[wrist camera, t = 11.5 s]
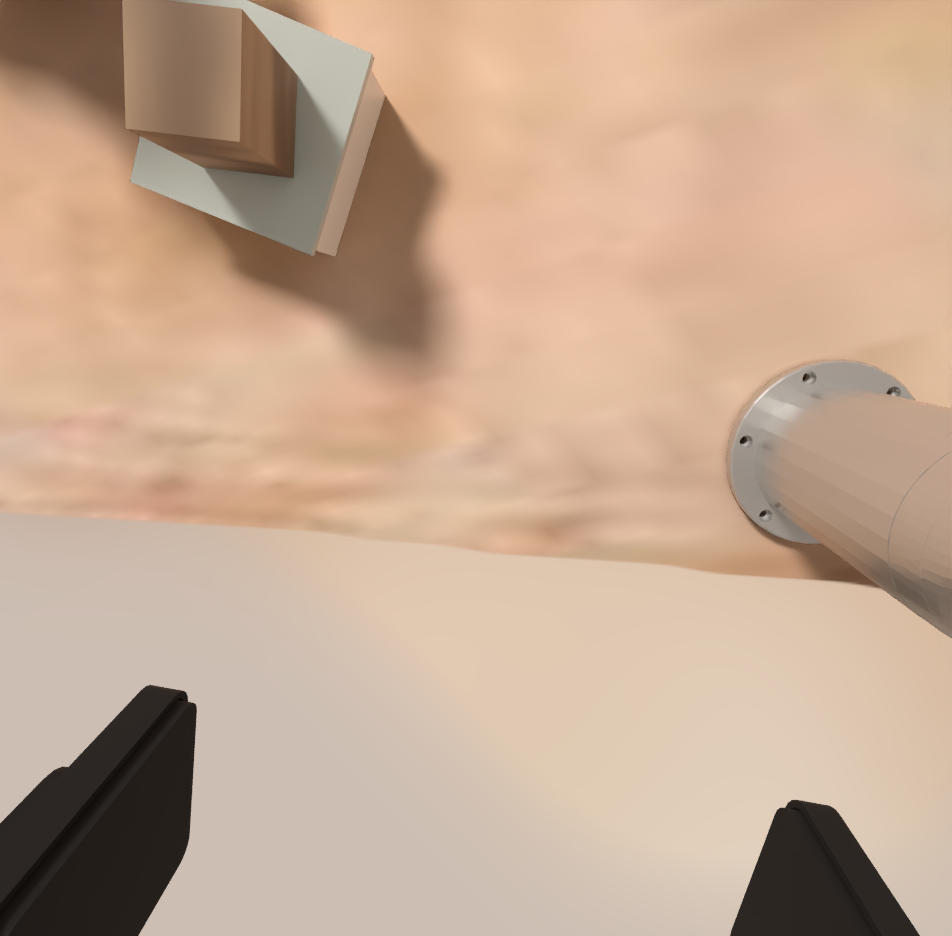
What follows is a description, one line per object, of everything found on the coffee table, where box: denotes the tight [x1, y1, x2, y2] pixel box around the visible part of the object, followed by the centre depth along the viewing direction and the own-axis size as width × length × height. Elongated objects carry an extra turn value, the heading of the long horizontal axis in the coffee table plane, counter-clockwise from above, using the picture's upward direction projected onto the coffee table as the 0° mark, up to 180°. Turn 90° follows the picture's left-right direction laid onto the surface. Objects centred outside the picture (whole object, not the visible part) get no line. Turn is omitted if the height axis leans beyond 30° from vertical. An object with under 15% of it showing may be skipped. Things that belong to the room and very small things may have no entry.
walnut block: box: [122, 0, 297, 178], centre depth 29 cm, size 5×5×7 cm
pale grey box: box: [130, 0, 385, 256], centre depth 35 cm, size 11×11×6 cm
